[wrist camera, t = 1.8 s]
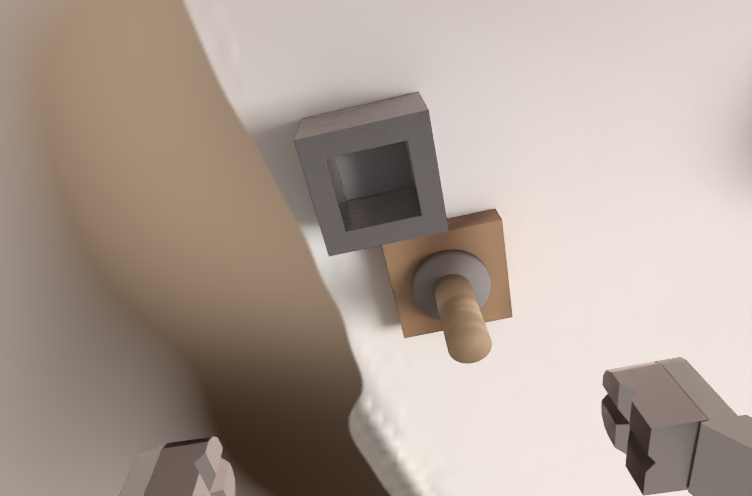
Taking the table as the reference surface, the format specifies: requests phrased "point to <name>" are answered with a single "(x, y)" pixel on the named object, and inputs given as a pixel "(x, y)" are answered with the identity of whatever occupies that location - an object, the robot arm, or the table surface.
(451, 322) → the post block
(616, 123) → the table surface
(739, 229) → the table surface
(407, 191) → the grey square frame
